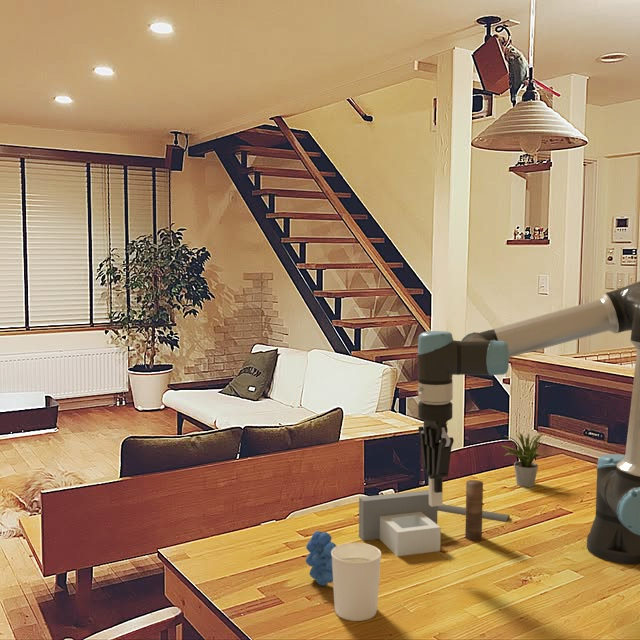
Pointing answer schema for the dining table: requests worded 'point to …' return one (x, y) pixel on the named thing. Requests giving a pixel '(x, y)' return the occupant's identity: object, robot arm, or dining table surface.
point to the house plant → (525, 461)
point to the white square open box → (409, 533)
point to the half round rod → (463, 512)
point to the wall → (391, 510)
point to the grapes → (320, 557)
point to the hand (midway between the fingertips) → (435, 504)
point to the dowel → (474, 510)
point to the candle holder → (356, 580)
